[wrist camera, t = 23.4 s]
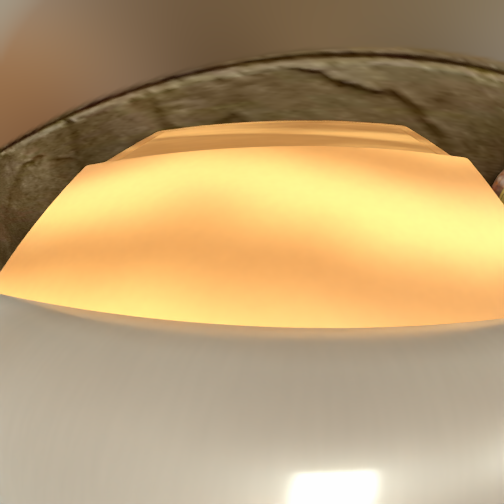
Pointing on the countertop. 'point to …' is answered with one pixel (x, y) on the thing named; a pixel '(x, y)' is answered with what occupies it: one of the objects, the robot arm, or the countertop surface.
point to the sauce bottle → (499, 186)
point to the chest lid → (258, 333)
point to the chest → (281, 137)
